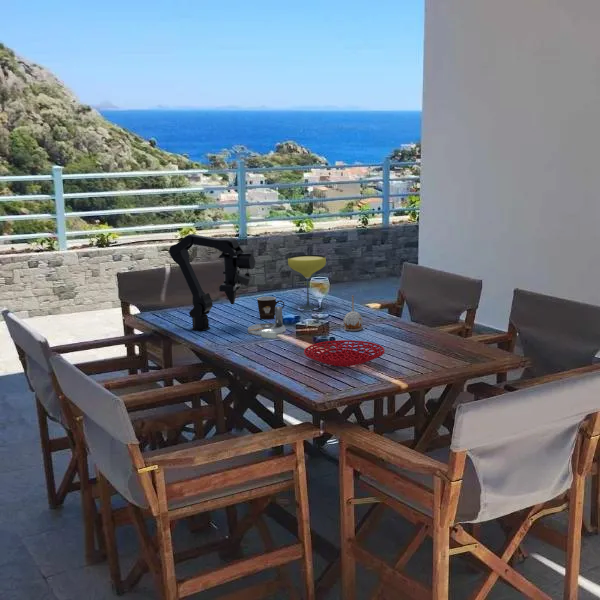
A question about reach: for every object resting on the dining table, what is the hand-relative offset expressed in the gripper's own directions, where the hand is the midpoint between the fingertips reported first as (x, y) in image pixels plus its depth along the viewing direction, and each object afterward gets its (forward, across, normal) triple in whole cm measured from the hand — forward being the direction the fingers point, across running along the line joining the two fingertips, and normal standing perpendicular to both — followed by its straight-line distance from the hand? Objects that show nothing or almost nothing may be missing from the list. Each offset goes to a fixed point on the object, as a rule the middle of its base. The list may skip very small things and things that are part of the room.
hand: (232, 304), depth 350 cm
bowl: (+12, -46, -54) cm, 72 cm away
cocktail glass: (+12, +47, -24) cm, 55 cm away
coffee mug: (+12, +22, -11) cm, 28 cm away
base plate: (+12, -3, -15) cm, 20 cm away
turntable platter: (+11, -3, -15) cm, 19 cm away
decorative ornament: (+12, +6, -51) cm, 53 cm away
